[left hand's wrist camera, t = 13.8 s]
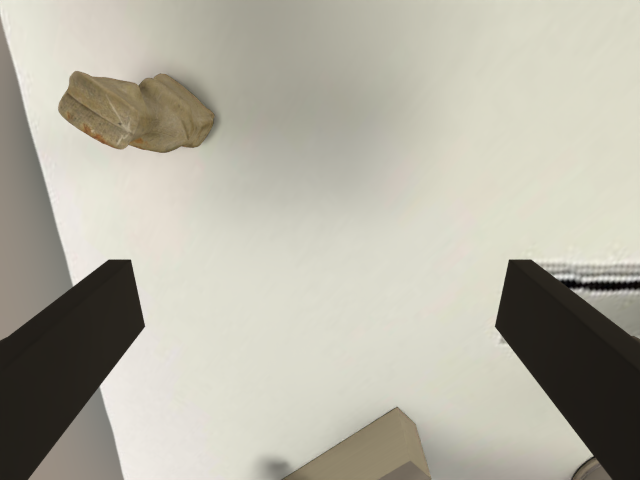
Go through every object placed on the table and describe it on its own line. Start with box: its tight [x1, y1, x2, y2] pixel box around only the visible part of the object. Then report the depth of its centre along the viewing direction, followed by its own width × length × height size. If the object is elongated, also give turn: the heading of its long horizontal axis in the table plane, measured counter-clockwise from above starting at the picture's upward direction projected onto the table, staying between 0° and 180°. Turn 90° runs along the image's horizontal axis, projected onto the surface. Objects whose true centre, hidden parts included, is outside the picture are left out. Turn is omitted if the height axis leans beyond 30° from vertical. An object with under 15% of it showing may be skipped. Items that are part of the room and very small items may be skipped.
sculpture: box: [58, 71, 215, 153], centre depth 31 cm, size 6×7×15 cm
